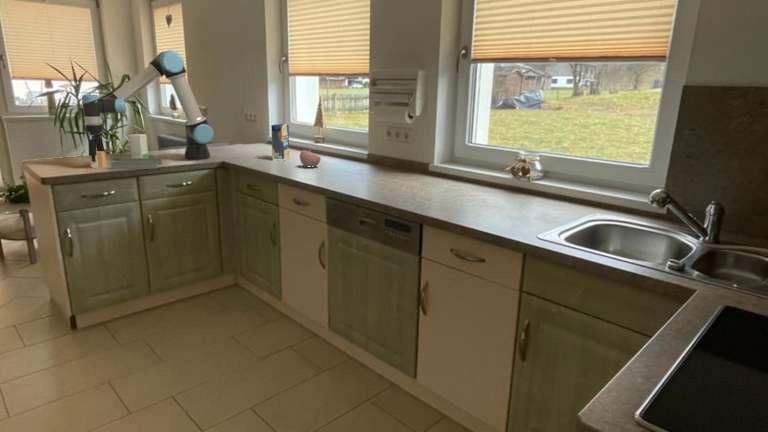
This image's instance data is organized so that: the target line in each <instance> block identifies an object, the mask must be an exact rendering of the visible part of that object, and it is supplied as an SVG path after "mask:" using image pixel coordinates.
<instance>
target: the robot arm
mask: <svg viewBox="0 0 768 432" xmlns="http://www.w3.org/2000/svg"><path fill="white" fill-rule="evenodd" d="M187 73H188V72H187V69H186V67H185V60H184V58H183V56H182V55H181V54H180V53H179V52H177V51H175V50H170V49H168V50H164V51H161V52H159V54H157V55H156V56H155V57H154V58H153V59H152V60H150V61H149V63H148V66H147V67H146V68H144V69H143V70H141V71H140V72H139V73H138V74H136V75H134V76H133V77H132V78H131V79H129V80H128V81H127V82H126V83H124V84H123V85H122V86H120V87H119V88H118V89H116V90H115V91H113V92H112V93H111V94H110V95H108V96H107V97H105V98H101V97H100V98H99V95H98V94H92V93H91V94H90V93H89V94H88V93H86V94H83V95H82V96H81V97H82V98H81V99H82V100H81V101H82V110H83V116H84V117H83V120H84V124H85V132H86V133H89V135H87V139H88V142H87V143H88V157H89V156H91V162H92V169H95V168H96V169H98V161H97V155H96V151H105V147H104V146H105V145H104V141H103V136H102V135H103V134H102V132H103V125H102V116H101V114H123V113H126V103H127V102H128V101H129V100H130V99H132V98H133V97H135V96H136V95H138V93H139V92H141V91H142V90H144V89H146V87H147V86H149V85H150V84H151V83H153V82H154V81H155V80H156V79H158V78H162V77H165V78H166V79H167V80H168V81H170V83H171V86H172V88H173V91H174V93H175V95H176V97H177V99H178V103H180V107H181V108H182V111H183V113H184V115H185V117H186V121H185V123H184V127H185V128H184V129H185V139H186V141H185V142H186V147H185V150H184V156H183V157H184V159H186V160H187V159H188V160H206V159H210V158H211V153H210V151H209V147H208V145H207V144H208V143H210V142H211V141H212V140H213V139H214V135H215V134H214V133H215V132H214V130H213V128H212V127H211V126H210V124H209V122H208V120H207V118H206V116H205V117H204V116H203V115H202V113H201V110H200V108H199V104H198V103H197V101H196V98H195V96H194V93H193V90H192V89H191V87H190V84H189V82H188V79H187V77H186V75H187Z"/></svg>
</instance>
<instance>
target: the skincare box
mask: <svg viewBox="0 0 768 432" xmlns="http://www.w3.org/2000/svg"><path fill="white" fill-rule="evenodd" d="M128 137H129V145H130V155H131V158H149V149H148V147H149V146H148V139H147V138H148V136H147V134H146V133H144V134H142V133H134V134H128Z"/></svg>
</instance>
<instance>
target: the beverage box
mask: <svg viewBox="0 0 768 432" xmlns="http://www.w3.org/2000/svg"><path fill="white" fill-rule="evenodd" d="M270 127H271V156H272V157H271V159H285V158H287V157H289V158H290V129H289V128H290V127H289V124H284V123H276V124H272V125H271V126H270Z"/></svg>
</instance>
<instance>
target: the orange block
mask: <svg viewBox="0 0 768 432" xmlns="http://www.w3.org/2000/svg"><path fill="white" fill-rule="evenodd" d="M96 155H97V161H98V167H103V168H104V167H106V166H107V159H106V150H104V151H98V150H96ZM88 158H89V165H90V168H91V167H92V162H91V156H89V155H88Z"/></svg>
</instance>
